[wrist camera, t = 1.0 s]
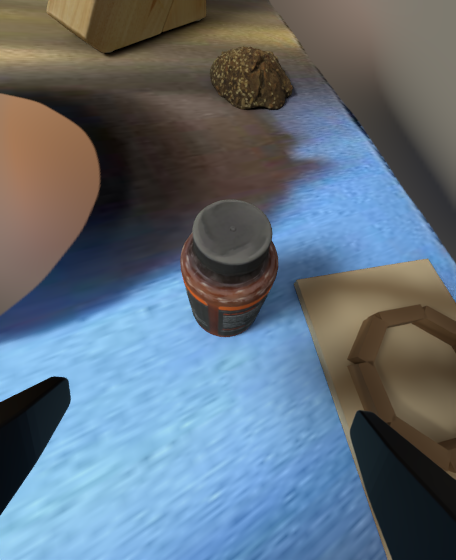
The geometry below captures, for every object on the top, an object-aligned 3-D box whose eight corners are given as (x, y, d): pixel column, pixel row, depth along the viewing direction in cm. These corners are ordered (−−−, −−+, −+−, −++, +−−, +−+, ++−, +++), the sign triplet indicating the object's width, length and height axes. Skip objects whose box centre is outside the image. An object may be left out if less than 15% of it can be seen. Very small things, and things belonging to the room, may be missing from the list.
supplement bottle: (270, 306, 22) (318, 231, 12) (225, 353, 20) (236, 312, 10) (224, 265, 24) (232, 168, 13) (178, 305, 22) (145, 227, 11)
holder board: (570, 509, 17) (629, 529, 14) (392, 572, 15) (425, 605, 12) (419, 263, 25) (441, 249, 22) (293, 284, 23) (302, 271, 21)
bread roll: (204, 72, 39) (202, 31, 35) (273, 65, 41) (280, 25, 37) (226, 119, 34) (228, 78, 30) (303, 108, 36) (316, 68, 32)
